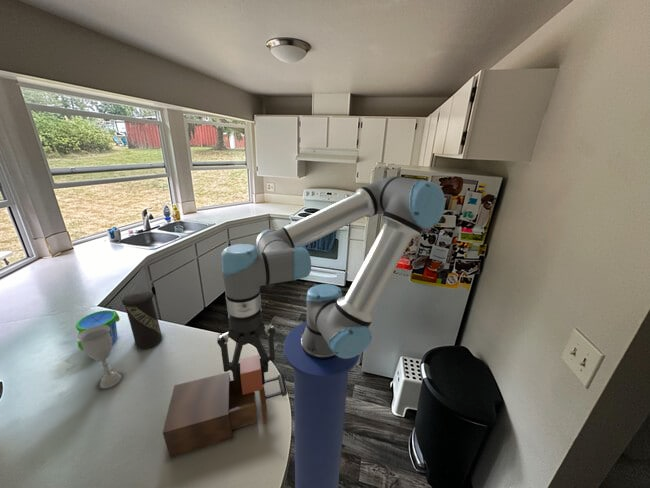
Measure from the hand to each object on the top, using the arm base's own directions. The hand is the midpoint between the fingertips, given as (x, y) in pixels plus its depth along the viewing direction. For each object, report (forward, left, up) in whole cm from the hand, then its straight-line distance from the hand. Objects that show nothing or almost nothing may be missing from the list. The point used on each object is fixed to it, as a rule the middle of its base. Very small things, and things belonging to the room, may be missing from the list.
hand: (252, 383), depth 66 cm
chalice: (+41, -22, -10) cm, 47 cm away
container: (+35, -38, -10) cm, 52 cm away
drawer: (0, 0, -8) cm, 8 cm away
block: (0, 0, 0) cm, 0 cm away
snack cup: (+50, -42, -10) cm, 66 cm away
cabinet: (+13, 0, -9) cm, 16 cm away
